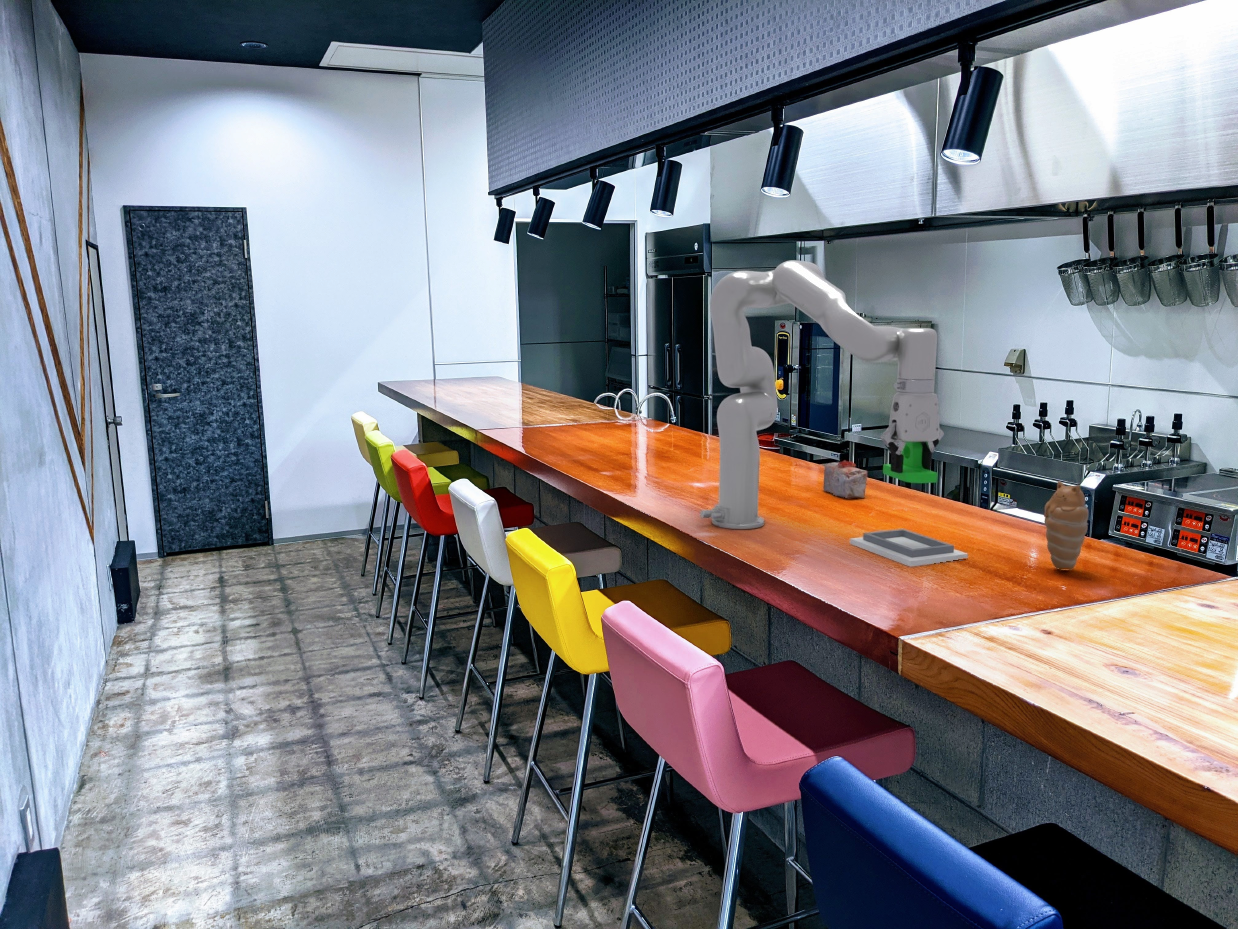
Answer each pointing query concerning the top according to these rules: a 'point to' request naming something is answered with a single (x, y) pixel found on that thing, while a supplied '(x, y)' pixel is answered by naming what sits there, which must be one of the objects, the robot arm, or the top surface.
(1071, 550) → the cat ice cream
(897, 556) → the socket board
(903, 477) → the mechanical part
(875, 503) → the top surface
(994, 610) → the top surface
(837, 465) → the food item
